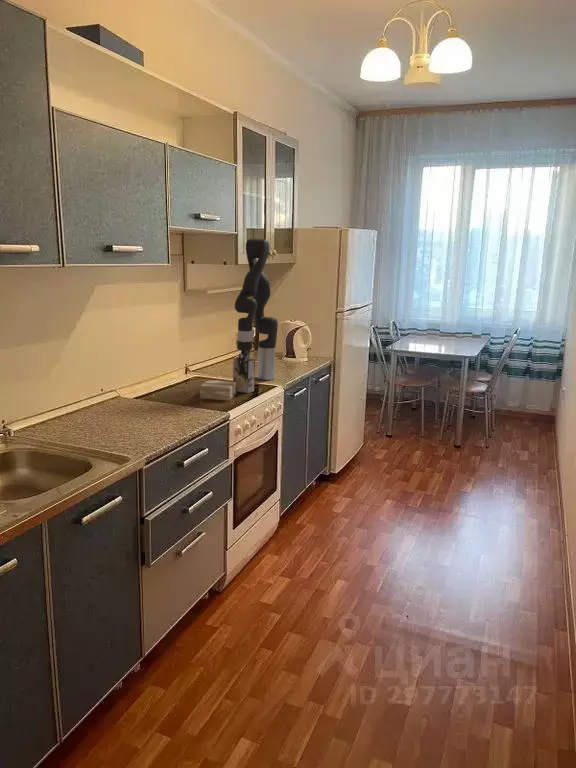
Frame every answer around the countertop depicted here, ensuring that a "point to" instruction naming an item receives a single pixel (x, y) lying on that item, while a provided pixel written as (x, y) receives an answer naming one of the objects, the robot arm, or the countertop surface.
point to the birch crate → (218, 390)
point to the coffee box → (247, 380)
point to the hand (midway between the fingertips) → (243, 372)
